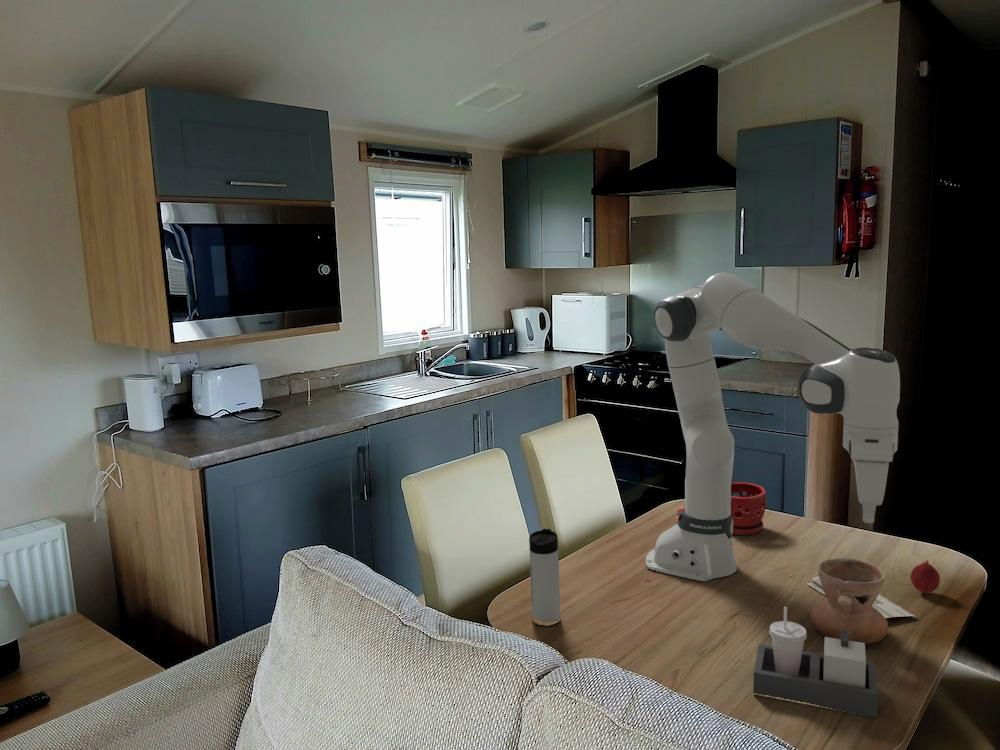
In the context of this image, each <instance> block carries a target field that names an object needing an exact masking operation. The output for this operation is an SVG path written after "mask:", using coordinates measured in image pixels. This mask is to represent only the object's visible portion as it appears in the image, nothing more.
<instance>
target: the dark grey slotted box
mask: <svg viewBox="0 0 1000 750" xmlns="http://www.w3.org/2000/svg"><path fill="white" fill-rule="evenodd" d="M823 645H824V647H823V648H824V649H823V651H824V652H823V653H817V652H811V651H807V650H805V651H804V650H803V651H802V657H801V663H800V669H799V675H798V676H793V675H787V674H781V673H776V669H775V661H774V652H773V645H769V644H763V643H758V647H757V652H756V656H755V657H756V658H755V662H754V668H753V693H757V694H762V695H769V696H772V697H773V696H774V697H780V698H784V699H790V700H795V701H800V702H806V703H810V704H815V705H819V706H823V707H828V708H832V709H836V710H840V711H845V712H849V713H848V714H851V713H856V714H861V715H864V716H863V717H866V716H869V717H868V718H872V717H873V719H878V705H879V704H878V703H879V702H878V701H879V699H878V698H879V691H878V680H877V670H876V669H877V668H876V662H872V661H867V656H866V644H865V643H861V642H855V641H848V630H842V629H841V639H835V638H829V637H826V636H824V644H823ZM840 711H839V712H840ZM845 712H844V713H845ZM850 712H851V713H850ZM856 714H855V715H856ZM861 715H860V716H861Z"/></svg>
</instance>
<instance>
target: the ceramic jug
mask: <svg viewBox="0 0 1000 750" xmlns="http://www.w3.org/2000/svg"><path fill="white" fill-rule="evenodd" d="M817 569H818V577H820V581H821V585H822V589H823V591H824V593H825V595H824V596H825V598H826V599H823V600H821V601H819V602H817V603H815V605H814V606H813V607H812V609H811V611H810V616H809V617H810V621H811V623H812V625H813V626H814V628H815V629H816V630H817V632H818V633H820V634H821V635H823V636H824V637H829V638H835V639H841V629H842V630H848V641H855V642H861V643H865V645H871V644H875V643H877V642H879V641H881V640H882V639H884V637H885V636H886V635H887V633H888V630H889V624H888V623H887V621H888V620H887V618H885V617H884V616H883V615H882V614H881V613H880V612H879V611H878V610H876V609H875V608H874V607H872V605H873V603H874V602H875V600H876V598H877V596H878V594H880V592H881V589H882V588H883V585H884V582H885V573H884V572H883V570H881V569H880V568H879V567H877V566H875V565H874V564H872V563H870V562H868V561H862V560H860V559H856V558H847V557H846V558H845V557H844V558H842V557H834V558H828V559H825V560H822V561H821V562H820V563H818V568H817Z"/></svg>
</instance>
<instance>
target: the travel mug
mask: <svg viewBox="0 0 1000 750" xmlns="http://www.w3.org/2000/svg"><path fill="white" fill-rule="evenodd" d="M528 539H529V541H528V543H529V567H530V568H529V569H530V574H529V575H530V596H531V616H532V617H533V618H534V619H536V620H538V621H542V622H553V621H557V620H558V619H559V618H560V619H561V599H560V597H561V595H560V592H561V591H560V570H559V569H560V566H559V565H560V563H559V546H558V544H559V543H558V542H559V541H558V539H559V538H558V534H557V533H556V532H555V531H553V530H552V529H551V528H543V529H541V530H537V531H534V532H532V533H531V534H530V535H529V537H528ZM532 617H531V618H532Z"/></svg>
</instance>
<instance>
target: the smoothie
mask: <svg viewBox="0 0 1000 750" xmlns="http://www.w3.org/2000/svg"><path fill="white" fill-rule="evenodd" d="M769 635H770V636H771V642H772V646H773V652H774V661H775V669H776V673H781V674H787V675H793V676H798V675H799V669H800V663H801V657H802V651H804V645H805V641H806V640H807V638H808V636H807V635H808V634H807V629H806V628H805V627H804V626H802V625H801V624H800V623H796V622H793V621H789V620H788V607H787V606H783V620H778V621H775V622H773V623H771V624H770V626H769Z"/></svg>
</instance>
